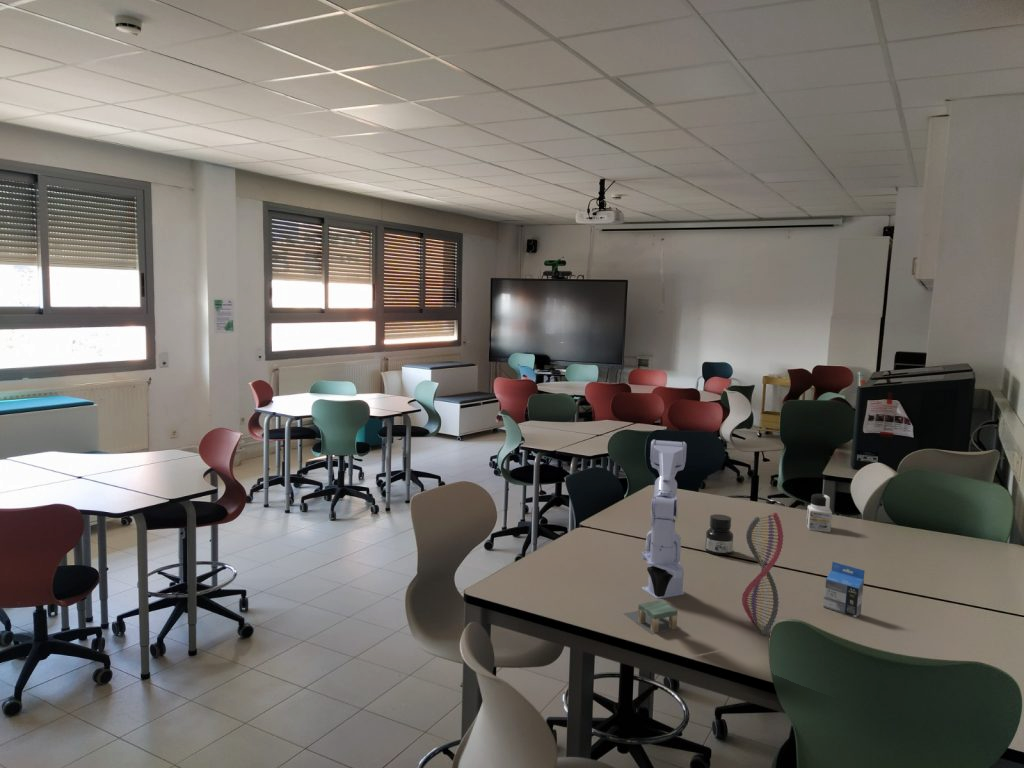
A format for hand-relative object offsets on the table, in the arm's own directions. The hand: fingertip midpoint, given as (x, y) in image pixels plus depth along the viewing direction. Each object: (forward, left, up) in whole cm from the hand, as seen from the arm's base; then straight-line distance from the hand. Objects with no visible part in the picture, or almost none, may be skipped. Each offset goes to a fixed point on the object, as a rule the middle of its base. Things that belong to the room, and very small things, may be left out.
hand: (659, 595), depth 180 cm
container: (-109, -48, -8) cm, 119 cm away
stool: (0, -4, -6) cm, 7 cm away
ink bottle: (-54, -40, -8) cm, 68 cm away
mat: (0, -3, -8) cm, 9 cm away
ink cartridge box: (-54, +10, -8) cm, 56 cm away
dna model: (-24, +10, -8) cm, 27 cm away
